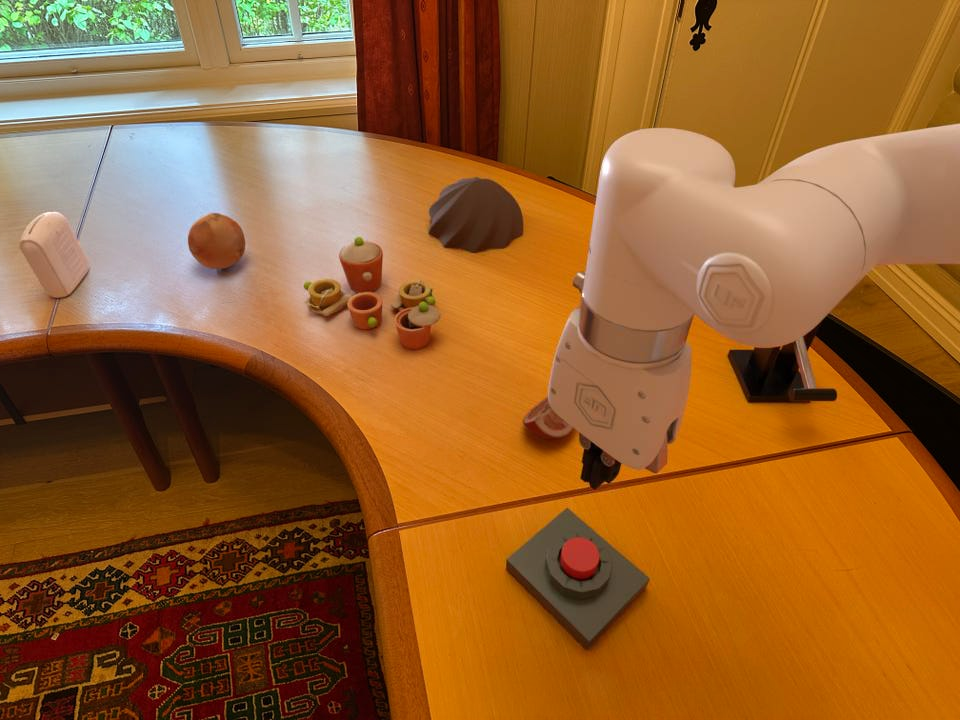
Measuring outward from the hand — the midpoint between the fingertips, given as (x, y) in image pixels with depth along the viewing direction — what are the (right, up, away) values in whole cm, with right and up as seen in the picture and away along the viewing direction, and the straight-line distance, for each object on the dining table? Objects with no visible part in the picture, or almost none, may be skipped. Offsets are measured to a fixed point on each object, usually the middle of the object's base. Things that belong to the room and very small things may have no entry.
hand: (598, 475), depth 54 cm
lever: (+33, +11, +28) cm, 44 cm away
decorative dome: (-11, +38, +69) cm, 79 cm away
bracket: (+33, +8, +36) cm, 49 cm away
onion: (-58, +28, +58) cm, 87 cm away
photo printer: (-84, +24, +54) cm, 103 cm away
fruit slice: (-1, +1, +29) cm, 29 cm away
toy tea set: (-27, +19, +48) cm, 59 cm away
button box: (0, -14, +13) cm, 19 cm away
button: (0, -11, +11) cm, 16 cm away
